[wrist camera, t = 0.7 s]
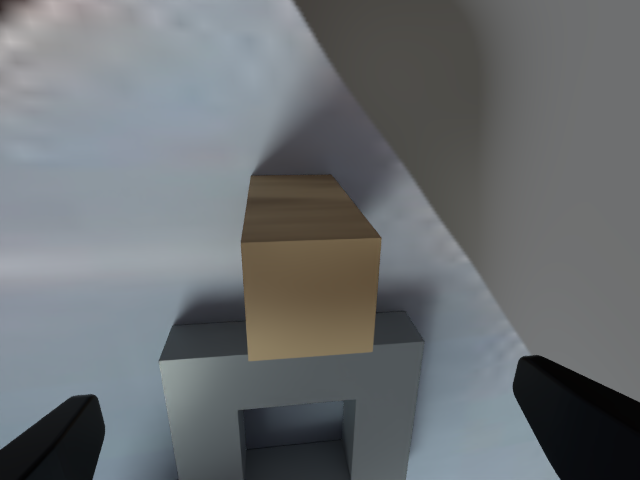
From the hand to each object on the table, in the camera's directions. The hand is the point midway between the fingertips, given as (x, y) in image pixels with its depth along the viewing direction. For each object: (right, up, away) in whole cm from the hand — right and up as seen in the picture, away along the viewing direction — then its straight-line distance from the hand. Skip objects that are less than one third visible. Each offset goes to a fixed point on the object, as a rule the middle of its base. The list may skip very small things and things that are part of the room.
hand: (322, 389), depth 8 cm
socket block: (-2, -8, +16) cm, 18 cm away
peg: (-2, +5, +12) cm, 13 cm away
